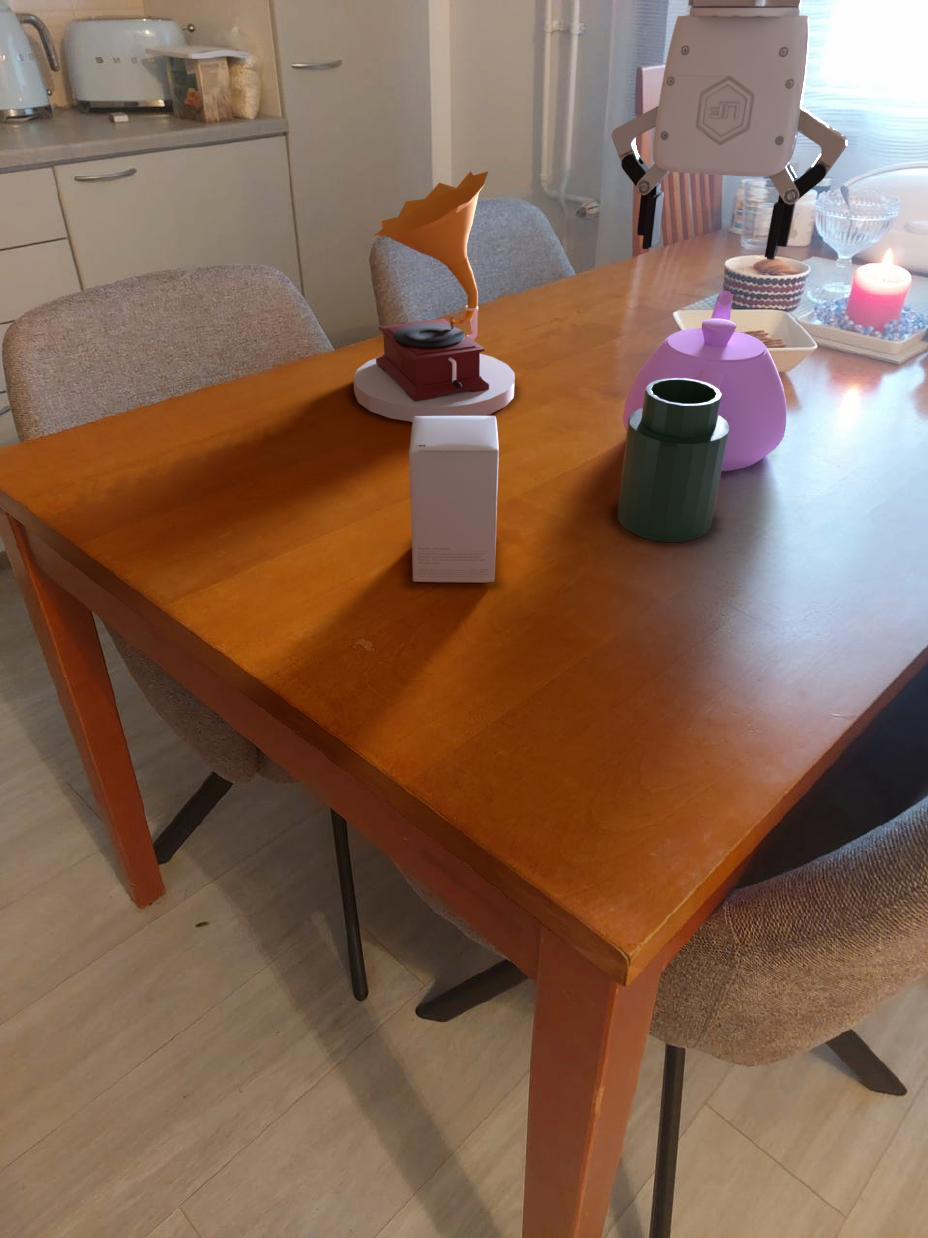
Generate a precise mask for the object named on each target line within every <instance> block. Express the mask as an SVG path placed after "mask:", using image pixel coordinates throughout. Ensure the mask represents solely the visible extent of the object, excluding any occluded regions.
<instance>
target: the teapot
mask: <svg viewBox="0 0 928 1238" xmlns="http://www.w3.org/2000/svg"><path fill="white" fill-rule="evenodd" d="M732 306H733V294H732V292H731V291H729V290H723V291H721V292H719V293H718V295H717V297H716V300H715V303H714V307H713V311H712V315H711V317H710V318H708V319H705V320H703V321H701V327H699V328H687V329H683V330H679V331H676V332H673V333H672V334H670V335H668V336H667V337H666V338H665V339H664V340H663V341H662V343H661V344H659V346H657V348H656V349H655V351H653V353H652V354H651V355H650V356H649V358H648V359H647V360H646V362H645V363H644V364H643V365H642V368H641V369H640V370H639V372H638V373H637V375H636V377H635V378H634V381H633V383H632V384H631V387H630V389H629V391H628V393H627V397H626V400H625V404H624V408H623V415H622V422H623V426H624V429H625V431H626V432H627V426H628V419H629V417H630V415H631V414H632V413H633V412H634V411H636V410H638V409H640V408H643V403H644V396H645V389H646V387H647V386H648V384H650V383H652V382H654V381H656V380H661V379H667V378H686V379H693V380H698V381H702V382H705V383H708V384H711V385H712V386H714V387H716V388H718V389H719V391H720V392H721V394H722V396H721V402H720V408H719V413H718V415H719V416H721V417H722V418H723V419H725V420H726V421H727V423H728V425H729V428H730V429H729V434H728V440H727V445H726V450H725V456H724V461H723V466H722V471H721V472H729V471H730V472H731V471H736V470H741V469H746V468H748V467H750V466H753V465H755V464H756V463H758V462H759V461H761V460H762V459H764V458H765V457H767V456H768V455H769V454H771V453H772V452H773V451H774V450H775V449H776V448H778V447H779V445H780V444H781V443H782V441H783V439H784V437H785V431H786V427H787V414H788V412H787V400H786V395H785V394H786V393H785V389H784V385H783V383H782V380H781V376H780V374H779V372H778V368H777V366H776V364H775V362H774V359H773V356H772V355H771V353H770V351H769V349H768V347H767V345H765V343H764V342H762V341H761V340H760V339H759V338H757V337H754V336H753V335H750V334H748V333H744V332H741V331H736V329H737V324H736V323H735V322H734V321H732V320H731V312H732Z"/></svg>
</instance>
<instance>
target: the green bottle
mask: <svg viewBox="0 0 928 1238" xmlns="http://www.w3.org/2000/svg"><path fill="white" fill-rule="evenodd" d="M721 396H722V394H721V392H720V391H719V389H718V388H716V387H714V386H712V385H711V384H708V383H705V382H702V381H698V380H693V379H686V378H667V379H661V380H656V381H654V382H652V383H650V384H648V386H647V387H646V389H645V396H644V403H643V408H640V409H638V410H636V411H634V412H633V413H632V414H631V415H630V417H629V419H628V426H627V431H626V435H625V443H624V444H625V445H624V452H623V461H622V462H623V463H622V469H621V476H620V477H621V478H620V485H619V486H620V487H619V495H618V503H617V519H618V523H620V524H621V526H622V527H623V528H624V529H626V530H627V531H628V532H630V533H631V534H633V535H635V536H639V537H640V538H643V539H646V540H650V541H655V542H661V543H684V542H691V541H693V540H696V539H699V538H701V537H704V535H705V534H707V533H708V532H709V531H710V529H711V526H712V521H713V519H714V514H715V508H716V504H717V497H718V492H719V487H720V481H721V477H722V472H723V471H722V466H723V461H724V456H725V450H726V445H727V440H728V434H729V429H730V428H729V425H728V423H727V421H726V420H725V419H723V418H722V417H721V416H719V415H718V413H719V408H720V402H721Z"/></svg>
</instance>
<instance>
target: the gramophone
mask: <svg viewBox="0 0 928 1238" xmlns="http://www.w3.org/2000/svg"><path fill="white" fill-rule="evenodd" d="M488 174H489V171H485V172H480V173H478V174H473V172H472V171H471V170H470V171H469V172H468V174H467V175H466V176H465V177H464V178H463V179H462V180H461V182H460V183H458V185H457V186H456V187H455V186H452V185H449V184H445V183H442V182H438V184H437V185H436V186H435V187H434V188H433V189H432V190H431V191H430V192H429V194H428V195H427V196H426V197H425V198H422V199H414V200H413V199H412V200H408V201H407V200H406V201H405V203H403V204H404V205H403V206H402V208H401V211H400V212H399V214H398V216H396V217H395V216H394V217H391V218H388V219H384V220H381V226H382V229H380V230H379V231H377V232H376V233H375V234H374V236H377V237H378V236H379V237H385V238H389V239H391V240H393V241H395V242H398V243H399V244H401V245H404V246H405V247H408V248H409V249H411V250H414V251H416V252H417V253H420V254H422V255H426V256H429V257H431V258H433V259H434V260H437V261H439V262H440V263H442V264H443V265H444V266H445V267H447V269H448V270H449V271H450V272H451V273H452V275H453V276H454V277H455V279H456V280H457V281H458V283H459V284H460V286H461V288H462V289H463V290H464V292H465V294H466V295H467V305H465V306H464V309H465V313H464V316H463V317H462V318H460V319H457V320H455V319H454V316H453V315H450V317H449V321H448V320H447V319H446V318H437V319H430V320H429V319H428V320H421V321H413V322H405V323H398V324H397V323H396V324H390V325H389V324H388V325H382V326H378V330H379V331H381V332H382V334H383V354H382V355H381V356H378V357H376V358H373V359H370V360H368V361H367V362H365V363H364V364H363V365H361V366H360V367H359V368H357V369H356V371H355V374H354V376H353V378H352V379H353V392H354V393H353V394H354V396H355V398H356V400H357V403H358V404H360V405H361V406H362V407H364V408H365V409H366V410H368V411H369V412H371V413H373V414H377V415H380V416H382V417H385V418H387V419H393V420H398V421H405V422H411V423H413V417H414V416H490V415H492V414H493V413H495V412H497V411H500V410H501V409H504V408H505V407H507V405H509V403H510V402H511V401H512V400H513V399H514V397H515V379H516V378H515V375H516V373H515V372H514V370H513V369H512V368H511V367H510V366H509V364H508V363H505V362H504V361H501V360H499V358H496V357H494V356H490V355H487V354H484V353H482V352H485V351H486V350H485V348H484V347H483V346H482V345H481V344H479V343H477V342H476V341H475V340H476V338H477V336H478V315H479V314H478V313H479V306H478V302H479V295H478V293H479V292H478V287H477V282H476V280H475V276H474V275H475V274H474V272H473V269H472V266H471V263H470V261H469V257H468V255H467V253H468V251H467V250H468V242H469V236H470V233H471V229H472V226H473V224H474V218H475V214H476V208H477V204H478V199H479V196H480V195H479V194H480V192H481V191H482V189H483V187H484V186H485V182H486V179H487V178H488V177H487V176H488ZM468 321H469V324H470V325H469V326H470V332H471V333H470V334H466V333H465V332H464V331H463V330H462V329H460V328H458V327H456V326H455V324H465V323H466V322H468Z"/></svg>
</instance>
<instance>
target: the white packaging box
mask: <svg viewBox="0 0 928 1238" xmlns="http://www.w3.org/2000/svg"><path fill="white" fill-rule="evenodd" d="M410 432H411V433H410V442H409V450H408V461H409V491H410V492H409V493H410V499H409V500H410V523H411V524H410V527H411V560H412V562H411V563H412V581H413V582H415V583H417V582H418V583H482V584H483V583H485V584H486V583H494V582H495V576H496V574H495V573H496V550H497V549H496V547H497V546H496V545H497V519H498V518H497V515H498V514H497V513H498V489H499V487H498V486H499V459H500V458H499V455H500V454H499V451H500V450H499V433H498V422H497V417H496V415H486V416H414V417H413V422H412V425H411V431H410Z"/></svg>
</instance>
